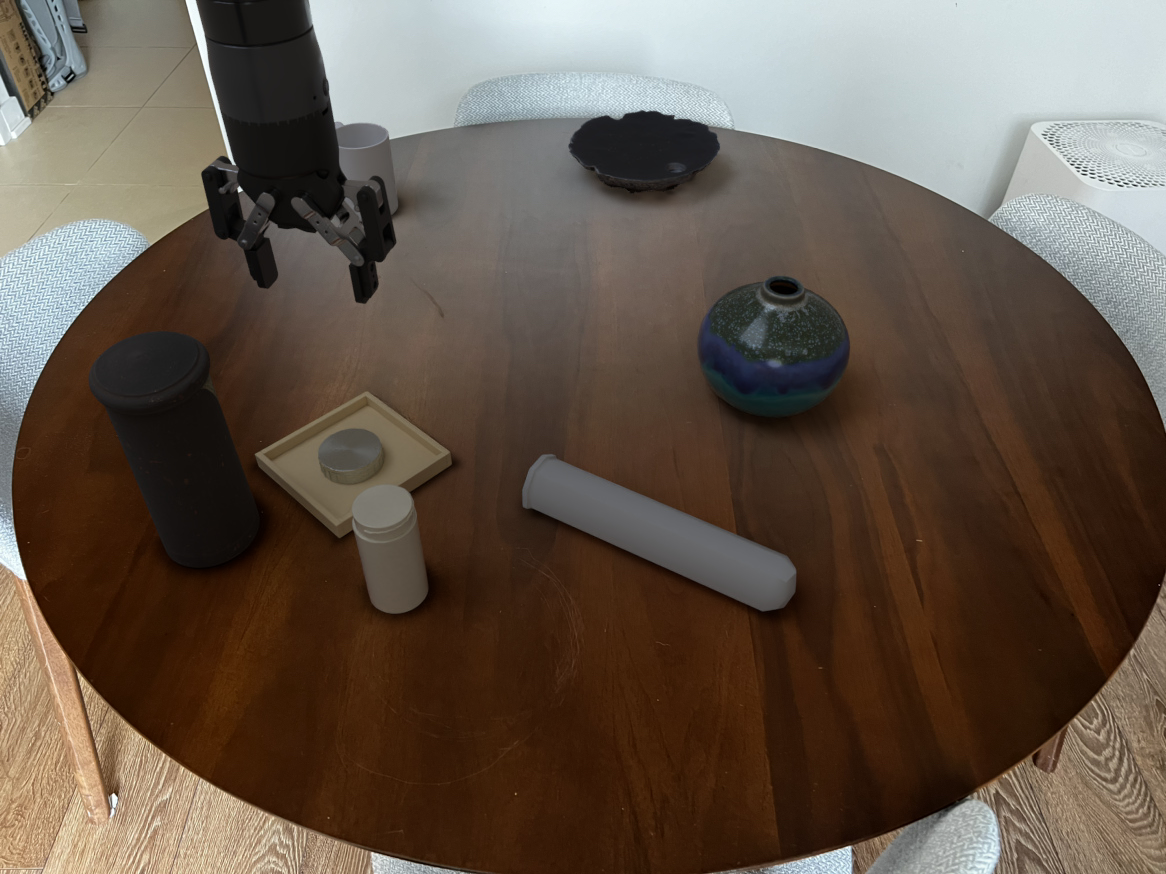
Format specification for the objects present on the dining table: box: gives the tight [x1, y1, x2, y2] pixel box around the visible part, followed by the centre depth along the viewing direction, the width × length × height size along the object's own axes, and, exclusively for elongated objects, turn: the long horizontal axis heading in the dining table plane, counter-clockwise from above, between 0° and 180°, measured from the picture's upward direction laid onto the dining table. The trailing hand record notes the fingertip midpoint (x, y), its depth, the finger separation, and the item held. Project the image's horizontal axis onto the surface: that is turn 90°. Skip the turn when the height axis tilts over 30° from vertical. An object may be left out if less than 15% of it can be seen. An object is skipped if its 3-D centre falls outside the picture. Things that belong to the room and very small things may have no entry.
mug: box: [334, 121, 399, 223], centre depth 123 cm, size 12×8×10 cm, turn 37°
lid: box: [318, 428, 385, 484], centre depth 87 cm, size 6×6×2 cm
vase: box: [696, 275, 851, 418], centre depth 93 cm, size 15×15×13 cm
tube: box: [521, 453, 797, 612], centre depth 79 cm, size 5×5×25 cm
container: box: [88, 330, 261, 569], centre depth 75 cm, size 9×9×20 cm
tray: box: [254, 390, 453, 539], centre depth 88 cm, size 13×13×2 cm
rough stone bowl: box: [567, 109, 721, 195], centre depth 132 cm, size 22×22×5 cm
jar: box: [352, 484, 429, 615], centre depth 74 cm, size 5×5×10 cm
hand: (317, 290), depth 75 cm, fingers open, 8 cm apart
